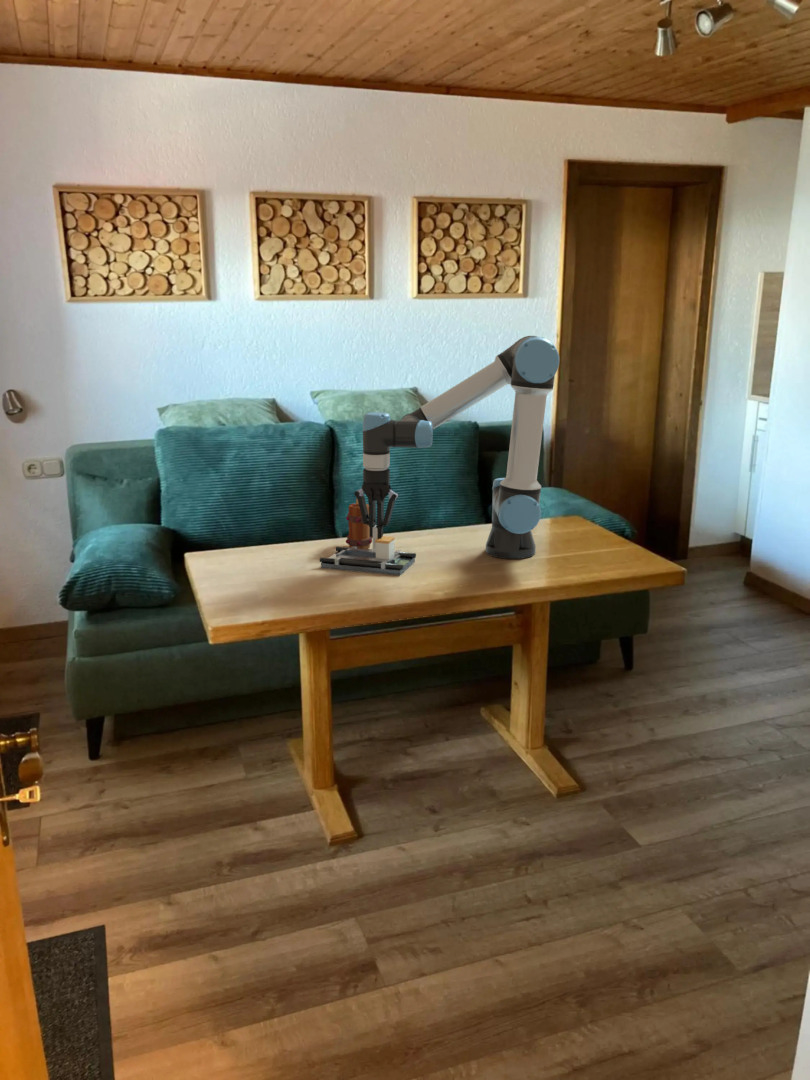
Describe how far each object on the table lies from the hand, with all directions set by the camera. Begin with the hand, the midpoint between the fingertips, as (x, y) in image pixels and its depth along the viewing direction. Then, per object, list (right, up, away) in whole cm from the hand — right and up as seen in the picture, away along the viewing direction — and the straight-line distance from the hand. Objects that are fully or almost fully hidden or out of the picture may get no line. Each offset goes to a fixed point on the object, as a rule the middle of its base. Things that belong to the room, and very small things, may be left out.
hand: (376, 548), depth 248 cm
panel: (-2, -5, +2) cm, 6 cm away
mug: (-6, 0, +20) cm, 21 cm away
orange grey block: (+3, -4, 0) cm, 5 cm away
